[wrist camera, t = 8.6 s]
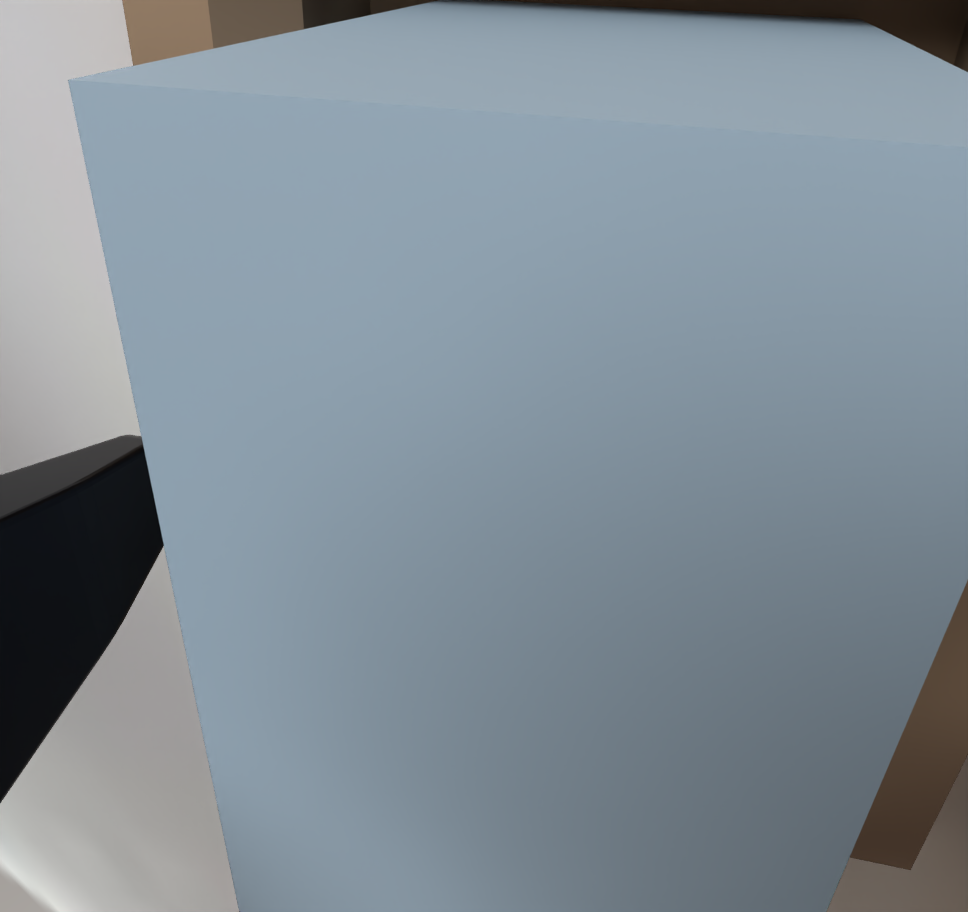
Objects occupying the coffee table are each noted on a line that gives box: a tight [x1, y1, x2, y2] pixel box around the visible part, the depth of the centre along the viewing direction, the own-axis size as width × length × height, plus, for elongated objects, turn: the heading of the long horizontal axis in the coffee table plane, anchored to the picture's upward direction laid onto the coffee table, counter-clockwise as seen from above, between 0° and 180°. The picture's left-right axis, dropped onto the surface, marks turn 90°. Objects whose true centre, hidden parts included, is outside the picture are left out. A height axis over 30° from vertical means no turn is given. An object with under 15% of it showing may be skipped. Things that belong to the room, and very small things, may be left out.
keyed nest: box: [122, 0, 968, 870], centre depth 11 cm, size 18×13×3 cm
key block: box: [68, 0, 968, 912], centre depth 9 cm, size 4×9×7 cm, turn 178°
